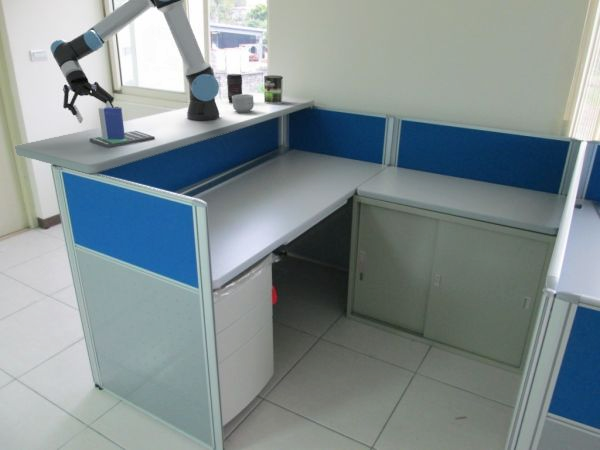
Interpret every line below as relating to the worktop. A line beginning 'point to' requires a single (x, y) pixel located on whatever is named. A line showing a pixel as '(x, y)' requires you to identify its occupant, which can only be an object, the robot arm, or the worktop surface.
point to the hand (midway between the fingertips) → (98, 118)
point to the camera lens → (234, 85)
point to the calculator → (129, 139)
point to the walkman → (111, 123)
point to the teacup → (242, 102)
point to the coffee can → (273, 89)
